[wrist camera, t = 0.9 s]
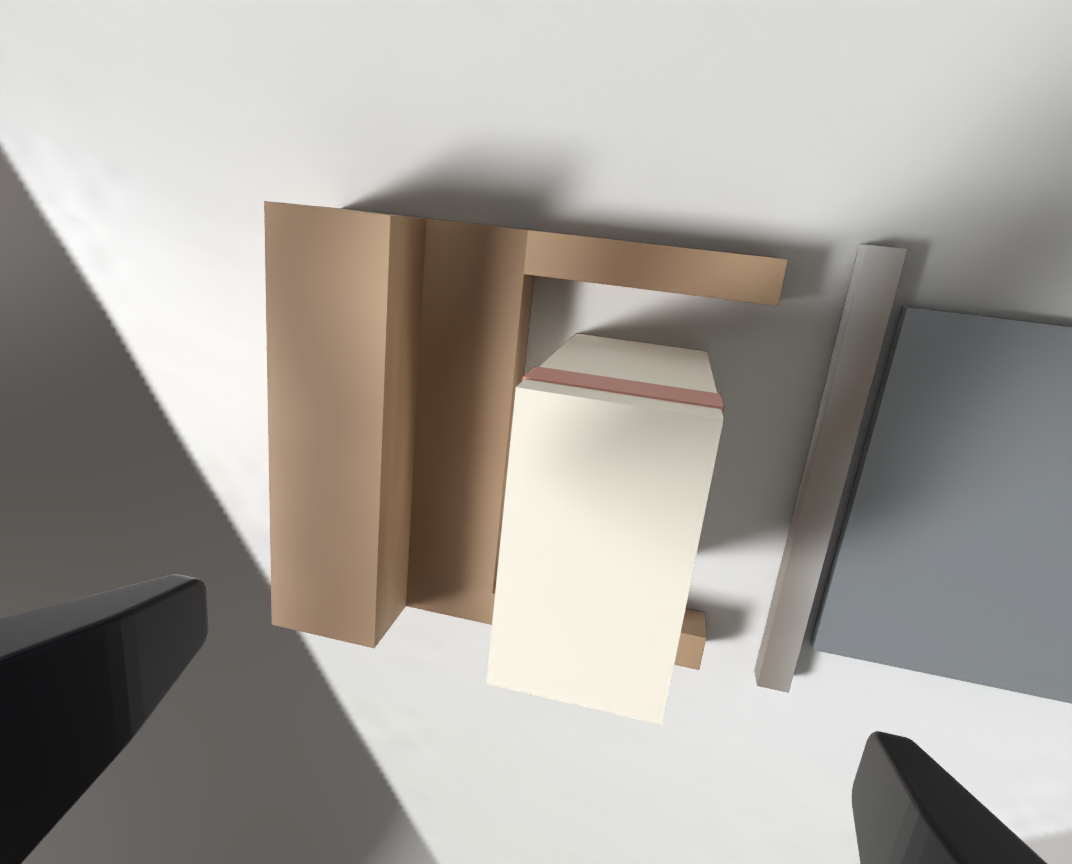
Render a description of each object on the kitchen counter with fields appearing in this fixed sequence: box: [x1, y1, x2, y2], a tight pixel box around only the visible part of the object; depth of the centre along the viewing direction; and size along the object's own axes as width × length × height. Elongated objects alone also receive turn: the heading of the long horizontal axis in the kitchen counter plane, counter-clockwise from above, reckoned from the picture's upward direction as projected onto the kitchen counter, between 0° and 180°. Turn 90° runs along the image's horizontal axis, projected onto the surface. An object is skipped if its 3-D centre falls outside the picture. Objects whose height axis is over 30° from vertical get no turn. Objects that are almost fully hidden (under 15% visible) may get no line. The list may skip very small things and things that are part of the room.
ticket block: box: [486, 333, 724, 725], centre depth 17 cm, size 4×7×8 cm, turn 174°
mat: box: [811, 306, 1072, 703], centre depth 19 cm, size 8×11×1 cm
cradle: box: [264, 201, 908, 693], centre depth 19 cm, size 16×14×4 cm
